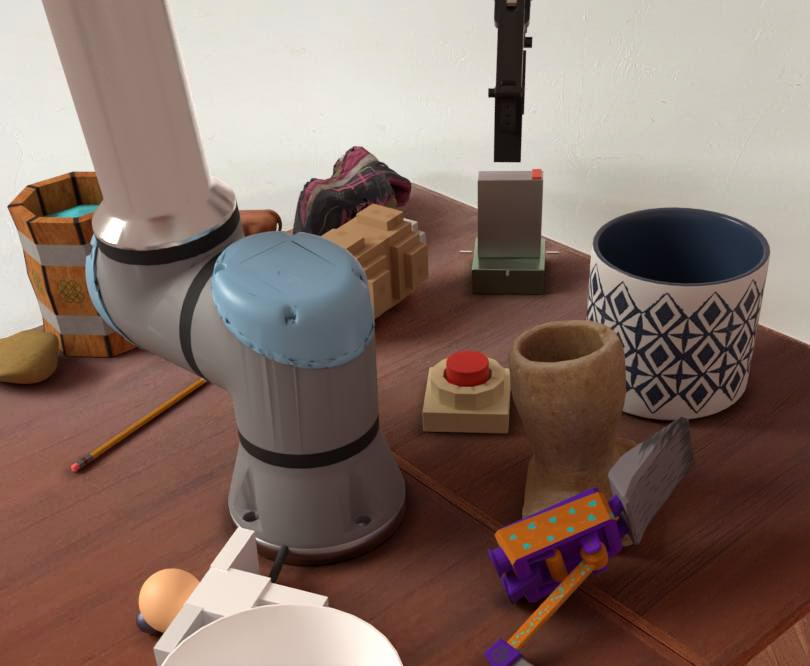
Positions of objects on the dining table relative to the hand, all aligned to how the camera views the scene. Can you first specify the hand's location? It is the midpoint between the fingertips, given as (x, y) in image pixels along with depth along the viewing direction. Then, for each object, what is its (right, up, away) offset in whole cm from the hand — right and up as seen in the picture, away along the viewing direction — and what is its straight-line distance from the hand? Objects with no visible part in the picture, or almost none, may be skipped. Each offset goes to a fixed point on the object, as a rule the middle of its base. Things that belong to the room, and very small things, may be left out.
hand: (509, 136), depth 118 cm
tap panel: (+1, -12, +11) cm, 16 cm away
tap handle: (+1, -10, +9) cm, 13 cm away
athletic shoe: (-23, -1, +19) cm, 30 cm away
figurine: (-17, -50, -36) cm, 63 cm away
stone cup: (+3, -39, -21) cm, 44 cm away
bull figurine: (-32, -11, +15) cm, 37 cm away
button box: (-5, -30, -9) cm, 32 cm away
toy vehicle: (+1, -39, -31) cm, 50 cm away
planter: (+15, -27, -7) cm, 31 cm away
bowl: (-19, -59, -43) cm, 75 cm away
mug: (-41, -18, +6) cm, 45 cm away
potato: (-49, -21, +1) cm, 53 cm away
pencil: (-36, -31, -9) cm, 48 cm away
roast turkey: (-15, -17, +6) cm, 24 cm away
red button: (-5, -27, -12) cm, 30 cm away
